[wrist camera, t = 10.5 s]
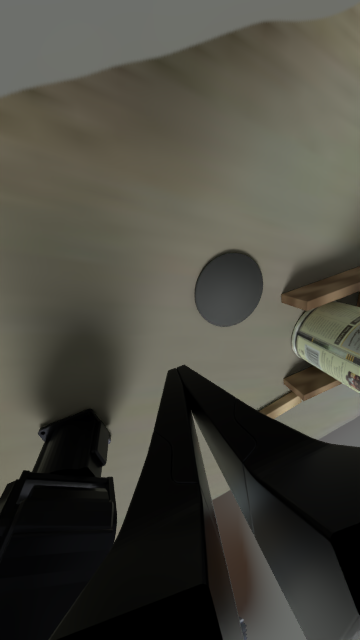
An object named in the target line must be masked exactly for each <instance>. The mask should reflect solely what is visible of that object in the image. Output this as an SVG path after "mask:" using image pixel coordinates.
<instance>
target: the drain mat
mask: <svg viewBox="0 0 360 640" xmlns="http://www.w3.org/2000/svg"><path fill="white" fill-rule="evenodd" d="M262 290H263V279H262V274H261V271H260V269H259V267H258V265H257V264H256V263H255V261H253V260H252V259H251V258H250V257H248V256H246V255H243V254H239V253H228V254H224V255H221V256H219V257H217V258H215V259H214V260H212V261H211V262H210V263H209V264H208V265H207V266H206V267H205V268H204V269H203V271H202V272H201V274H200V276H199V278H198V280H197V283H196V287H195V303H196V306H197V309H198V311H199V313H200V314H201V315H202V317H203V318H204V319H205V320H207V321H208V322H209V323H211V324H213V325H216V326H222V327H227V326H232V325H235V324H238V323H240V322H242V321H243V320H245V319H246V318H247V317H248V316H249V315H250V314H251V313H252V312H253V311H254V309H255V308H256V306H257V305H258V303H259V301H260V298H261V295H262Z"/></svg>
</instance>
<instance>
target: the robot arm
mask: <svg viewBox="0 0 360 640" xmlns="http://www.w3.org/2000/svg"><path fill="white" fill-rule="evenodd" d="M191 412H192V413H191ZM88 413H90V414H88ZM192 414H193V416H194V418H195V420H196V422H197V424H198V426H199V428H200V430H201V432H202V434H203V436H204V438H205V440H206V442H207V444H208V446H209V448H210V450H211V452H212V454H213V456H214V458H215V460H216V462H217V464H218V466H219V468H220V469H221V471H222V473H223V475H224V477H225V479H226V481H227V483H228V485H229V487H230V489H231V491H232V493H233V495H234V497H235V499H236V501H237V503H238V505H239V507H240V509H241V511H242V513H243V515H244V516H245V519H246V521H247V522H248V525H249V527H250V528H251V530H252V532H253V534H254V535H255V538H256V540H257V542H258V544H259V546H260V548H261V550H262V552H263V554H264V556H265V558H266V560H267V562H268V564H269V566H270V568H271V570H272V572H273V574H274V576H275V578H276V580H277V581H278V584H279V586H280V587H281V589H282V592H283V593H284V595H285V597H286V599H287V601H288V603H289V605H290V607H291V609H292V611H293V613H294V615H295V617H296V619H297V621H298V623H299V625H300V627H301V629H302V631H303V632H304V635H305V637H306V639H307V640H360V447H353V446H344V445H336V444H330V443H325V442H322V441H319V440H316V439H314V438H311V437H309V436H307V435H305V434H303V433H301V432H299V431H297V430H295V429H293V428H291V427H289V426H287V425H285V424H283V423H281V422H279V421H277V420H275V419H273V418H271V417H269V416H267V415H265V414H263V413H261V412H259V411H257V410H255V409H254V408H252V407H250V406H249V405H247V404H245V403H244V402H242V401H241V400H239V399H237V398H236V397H234V396H233V395H231V394H230V393H228V392H226V391H225V390H223V389H222V388H220V387H219V386H217V385H215V384H214V383H212V382H211V381H209V380H208V379H206V378H204V377H203V376H201V375H200V374H198V373H197V372H195V371H194V370H192V369H190V368H189V367H187V366H186V365H182V366H179V367H177V369H176V368H174V369H171V370H169V371H168V373H167V377H166V381H165V385H164V389H163V394H162V398H161V402H160V406H159V410H158V414H157V418H156V423H155V427H154V432H153V435H152V439H151V443H150V447H149V450H148V454H147V457H146V460H145V463H144V466H143V469H142V472H141V475H140V478H139V481H138V483H137V486H136V489H135V492H134V494H133V497H132V500H131V503H130V506H129V508H128V511H127V514H126V517H125V519H124V522H123V525H122V527H121V530H120V532H119V534H118V536H117V538H116V540H115V534H116V526H117V510H116V501H115V492H114V483H113V477H107V478H105V477H101V472H102V466H104V465H105V464H106V461H107V451H108V444H110V442H111V438H110V436H109V432H108V431H107V429H106V427H105V426H104V424H103V423H102V421H100V420H99V419H98V417H97V416H96V414H95V412H94V411H93V410H92V409H88V410H85V411H83V412H80V413H78V414H75V415H73V416H70V417H68V418H65V419H62V420H60V421H57V422H55V423H52V424H50V425H47V426H45V427H42V428H40V430H39V432H38V435H39V436H40V437H41V438H42V439H43V441H44V442H45V443H44V445H43V447H42V450H41V452H40V454H39V457H38V459H37V461H36V464H35V466H34V468H33V471H32V472H30V471H26V470H23V472H22V474H21V476H20V478H19V480H18V479H16V481H13V482H11V483H9V484H7V486H6V488H5V490H4V492H3V494H2V496H1V498H0V640H244V638H243V634H242V630H241V625H240V621H239V617H238V612H237V608H236V604H235V599H234V595H233V591H232V586H231V582H230V578H229V573H228V569H227V564H226V560H225V556H224V552H223V547H222V543H221V538H220V534H219V529H218V525H217V521H216V516H215V512H214V508H213V503H212V499H211V495H210V490H209V486H208V482H207V477H206V473H205V468H204V464H203V460H202V455H201V451H200V447H199V442H198V438H197V434H196V429H195V425H194V420H193V416H192ZM114 540H115V542H114Z"/></svg>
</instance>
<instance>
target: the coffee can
mask: <svg viewBox="0 0 360 640" xmlns="http://www.w3.org/2000/svg"><path fill="white" fill-rule="evenodd" d="M292 348H293V351H294V353H295V354H296V355H297V356H298V357H300V358H302V359H304V360H305V361H307V362H309V363H310V364H312V365H314V366H315V367H317V368H319V369H320V370H322V371H323V372H325V373H327V374H328V375H330V376H332V377H333V378H335V379H337V380H338V381H340V382H341V383H343V384H345V385H346V386H348V387H350V388H351V389H353V390H354V391H356V392H358V393H359V394H360V307H357V306H353V305H348V304H344V303H340V302H337V301H332V302H329V303H327V304H324V305H322V306H319V307H316V308H314V309H311V310H309V311H306V312H305V313H304V314H303V315H302V316H301V318H300V319H299V321H298V322H297V324H296V326H295V328H294V331H293V334H292Z"/></svg>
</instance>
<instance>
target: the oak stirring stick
mask: <svg viewBox="0 0 360 640" xmlns="http://www.w3.org/2000/svg"><path fill="white" fill-rule="evenodd" d="M299 403H301V398H300V397H299V396H297V395H296V394H295V393H294V392H293V391H292V392H290V393H289V394H287V395H285V396H284V397H282V398H280V399H279V400H277V401H275V402H274V403H272V404H270V405H269V406H267V407H265V408H264V409H262V410H260V411H259V412H261V413H263V414H265V415H267V416H269V417H271V418H273V419H274V418H276V417H278V416H279V415H281V414H283V413H284V412H286V411H288V410H289V409H291V408H293V407H294V406H296V405H297V404H299Z"/></svg>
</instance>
